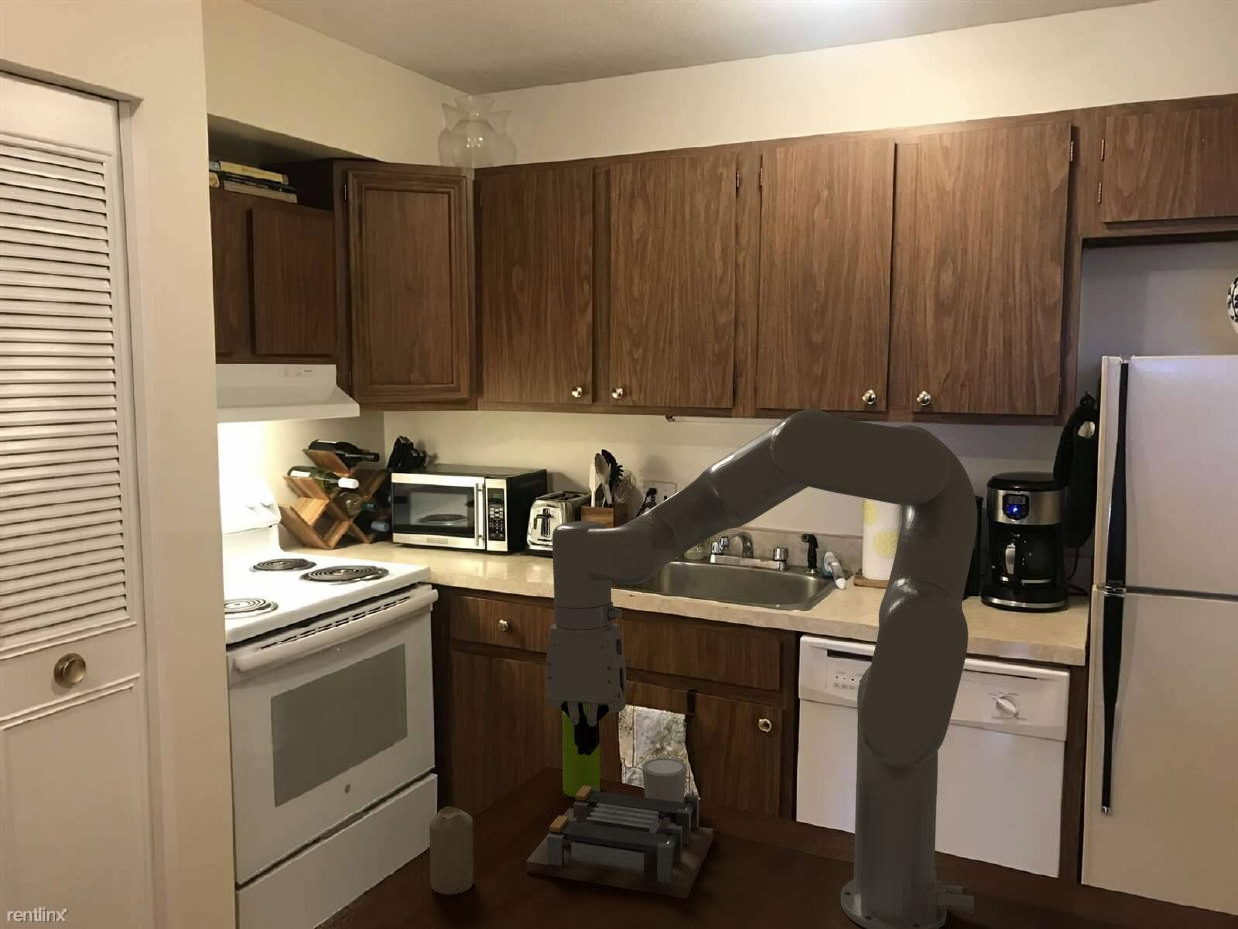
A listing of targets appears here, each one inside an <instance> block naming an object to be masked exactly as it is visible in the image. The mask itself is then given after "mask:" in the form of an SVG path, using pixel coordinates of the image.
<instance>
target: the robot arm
mask: <svg viewBox="0 0 1238 929" xmlns="http://www.w3.org/2000/svg"><path fill="white" fill-rule="evenodd" d="M971 482H972V481H971V479H970V477H969V475H968V473H967V471H966V469H965V467H964V465H963V463H961V461H960V459H959V458H958V457H957V456H956V454H954V452H953V451H952V450H951V449H950V448H949V447H948V446H947V445H946V444H945V443H943V442H942V440H940V438H938V437H937V436H935V434H933V433H932V432H930V431H928V430H927V429H925V428H923V427H920V426H916V425H900V426H897V427H896V426H891V425H890V426H889V425H885V424H884V425H883V424H877V423H872V422H865V421H859V420H854V419H849V418H843V417H840V416H834V415H831V414H830V413H828V412H826V411H823V410H822V409H816V408H808V409H807V408H806V409H802V410H799V411H796V412H795V413H793V414H791V415H789V416H788V417H786V418H785V419H783V420H782V421H780V422H779V423H777V424H775V425H774V426H772V427H771V428H769V429H768V430H766V431H764V432H763V433H761V434H760V435H758V436H756V437H755V438H753V439H752V440H750V441H748V442H747V443H745V444H744V445H742V446H740V447H739V448H737V449H736V450H734V451H732V452H731V453H729V454H727V455H726V456H725V457H723V458H720V460H718V461H717V462H715V463H713V464H711V465H710V466H709V467H707V468H706V469H705V470H704V471H703V472H701V474H700V475H698V477H697V478H696V479H695V480H694V481H691V483H689V484H688V485H686V486H685V487H683V488H682V489H680V490H679V491H677V492H676V493H673V495H671V496H669V497H668V498H667V499H665V500H663V501H662V502H660V503H657V505H655V506H654V507H652V508H650V509H649V510H647V511H645V512H644V513H641V514H640V515H638V516H637V517H635V518H634V519H633V518H632V519H631V520H630V521H628V522H626V523H625V524H621V525H619V526H616V527H607V526H606V525H605V524H604V523H602V522H599V521H591V520H589V521H588V520H576V521H567V522H563V523H560V524H558V525H557V526H555V528H554V530H553V531H552V534H551V535H552V536H551V537H552V539H551V542H552V544H551V545H552V547H551V548H552V569H553V571H552V573H553V597H554V598H553V599H554V601H553V604H554V623H553V624H552V625H551V626H550V630H549V635H548V642H547V648H546V659H545V660H546V661H545V662H546V663H545V689H546V694H547V698H546V704H547V705H548V706H549V707H552V708H556V709H558V710H562V713H563V712H564V713H565V714H566V715H567V716H568V717H569V718H570V721H571V723H572V724H573V725H574V738H575V745H576V746H578V755H583V754H586V755H588V756H590V755H591V754H592V753H593V751H594V750H595V749H596V747H598V746H599V742H600V739H601V736H600V735H599V721H600V722H601V720H602V719H603V718H604V717H605V716H606V715H608V714H614V713H620V712H622V711H623V710H624V709H625V708H626V706H627V704H626V699H625V697H624V694H625V693H626V691H627V686H628V683H627V671H626V662H625V660H626V658H625V654H624V653H625V652H624V646H623V641H622V635H621V630H620V628H619V624H618V623H614V622H613V621H615V620H621V619H622V618H623V610H622V608H617V607H614V602H613V601H612V582H615V583H619V584H623V585H624V584H626V585H639V584H643V583H646V582H647V581H649V580H650V579H652V578H653V577H654V576H655V575H656V574H658V572H660V571H661V570H662V569H663V568H664V567H665V566H666V565H667V564H669V563H671V562H672V561H674V560H675V559H677V558H679V557H680V556H682V555H684V554H685V553H687V552H688V551H689V550H690V551H691V549H694V548H695V547H696V546H698V545H700V544H702V543H703V542H705V541H707V540H708V539H710V538H712V537H714V536H716V535H717V534H720V533H722V532H724V531H727V530H732V529H736V528H741V527H742V526H744V525H747V524H748V523H750V522H753V521H754V520H755V519H757V518H759V517H760V516H762V515H764V514H765V513H767V512H768V511H770V510H772V509H773V508H775V507H777V506H778V505H780V504H782V503H783V502H785V501H787V500H788V499H790V498H792V497H793V496H795V495H797V494H799V493H800V492H802V491H804V490H806V489H808V488H812V489H817V490H820V491H821V490H822V491H826V492H830V493H834V494H841V495H845V496H852V497H857V498H861V499H867V500H873V501H878V502H882V503H887V504H894V505H898V506H900V507H901V524H900V528H899V529H900V530H899V534H898V539H897V543H896V551H895V555H894V559H893V563H892V567H891V571H890V574H889V579H888V582H887V585H886V589H885V592H884V594H883V597H882V600H881V603H880V605H879V610H878V632H877V637H876V642H875V646H874V647H875V648H874V652H873V655H872V660H871V664H870V665H869V666H868V668H867V669H866V670H865V672H864V673H863V674H862V677H861V678H860V681H859V684H858V688H857V695H856V696H857V697H856V698H857V699H856V700H857V701H856V702H857V703H856V704H857V706H856V708H857V710H856V711H857V724H856V725H857V726H856V728H857V732H856V733H857V738H856V740H857V742H856V743H857V744H856V745H857V746H856V780H855V781H856V782H855V810H854V811H855V818H854V824H855V826H854V858H853V859H854V861H853V864H854V865H853V879H851V880H850V881H849V882H847V883H846V884H845V885H844V886H843V887H842V889H841V892H840V904H841V908H842V910H843V911H844V914H846V915H847V917H848V918H850V919H851V920H852V921H853V922H854V923H856V925H857V924H858V925H859V926H860V927H862V928H864V929H939V928H940V927H942V926H943V927H944V925H945V924H946V922H945V921H947V910H950V911H957V912H960V913H967V914H972V915H973V914H974V912H975V910H974V909H975V899H974V898H975V897H974V896H972V895H965V894H963V887H962V886H959V885H947V884H943V882H942V881H938V879H937V878H938V875H937V869H935V863H936V861H935V860H936V859H935V858H936V835H937V834H936V830H937V800H938V798H937V797H938V796H937V795H938V778H939V777H938V774H939V772H938V770H939V769H938V767H939V766H938V765H939V750H940V748H941V746H942V745H943V743H944V740H945V738H946V735H947V731H948V729H949V725H950V722H951V719H952V713H953V710H954V708H955V706H954V705H955V702H956V700H957V699H956V698H957V695H958V690H959V686H960V683H961V678H962V674H963V671H964V666H965V663H966V658H967V652H968V646H969V627H968V624H967V623H968V622H967V619H966V616H965V613H964V612H963V599H964V594H965V588H966V583H967V581H968V576H969V571H970V566H971V560H972V555H973V551H974V546H975V540H976V534H977V528H978V508H977V507H978V506H977V499H976V494H975V491H974V489H973V488H974V487H973V484H972V483H971ZM584 703H589V710H588V718H587V717H586V713H585V707H584ZM943 927H942V928H943ZM940 929H941V928H940Z"/></svg>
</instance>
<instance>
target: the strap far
mask: <svg viewBox="0 0 1238 929" xmlns="http://www.w3.org/2000/svg"><path fill="white" fill-rule="evenodd" d="M574 799H575V800H574V803H575V802H576V801H577V802H584V803H589V807H595V808H597V804H598V803H600V804H607V805H614V806H621V807H628V808H636V809H643V810H650V811H657V812H659V816H660V817H668V818H670V819H675V820H676V812H677V810H678V809H683V810H690V811H691V813H692V811H693V809H694V807H695V805H694V803H693V802H688V803H685V802H684V803H683V802H675V801H667V800H660V799H652V798H645V796H637V795H636V796H635V795H629V794H628V795H627V794H621V793H615V792H613V793H612V792H605V791H600V792H599V791H592V787H591V786H582V788H581V789H580V790H579V791H578V793H577V794H576V795H575V798H574Z"/></svg>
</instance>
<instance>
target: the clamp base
mask: <svg viewBox="0 0 1238 929" xmlns="http://www.w3.org/2000/svg"><path fill="white" fill-rule="evenodd" d="M592 791H599V792H601V788H593V787H592ZM699 796H700V795H699V794H691V793H686V794H684V803H688V802H693V803H694V805H695V807H694V809H693V811H692V813H691V811H690V810H683V809H678V810H677V812H676V819H675V820H676V821H675V822H676V823H673V822H671V818H668V817H660V816H659V812H657V811H650V810H643V809H636V808H628V807H621V806H614V805H607V804H600V803H598V804H597V808H595V807H589V803H584V802H577V801H576V802H575V801H574V803H573V804H572V805H573V807H572V808H571V807H568V809H567V810H566V812H564V814H563V815H562V816H567V817H568V821H573V822H580V823H587V824H594V825H601V826H608V827H615V828H622V829H629V830H636V831H643V832H650V833H657V834H664V835H671V834H676V835H677V837H678V840H677V842H676V844H675V846H674V848H673V844H667V843H660V842H659V844H658V846H657V853H655V852H648V851H642V850H635V849H628V848H621V847H615V846H608V845H601V844H594V843H588V842H581V841H574V840H568V839H564V835H559V834H553V833H550V831H549V832H548V834H547V835H546V836H545V838H544V839H543V840H542V841H541V842H540V843H539V845H538V846H536V849H534V851H533V852H532V853H531V854H530V856H529V857H528V858H527V860H526V861H525V863H526V864H525V865H526V866H525V867H526V869H525V870H526V871H525V872H526V873H530V874H536V875H542V876H543V875H544V876H549V877H554V878H562V879H565V880H566V879H568V880H571V881H572V880H573V881H579V882H584V883H589V884H590V883H591V884H597V885H602V886H609V887H614V888H618V889H619V888H622V889H627V890H633V891H639V892H645V893H650V894H656V895H661V896H668V897H675V898H682V899H688V897H689V895H690V892H691V890H692V888H693V885H694V883H695V881H696V879H697V876H698V874H699V872H700V870H701V867H702V866H703V863H704V860H705V859H706V856H707V854H708V852H709V848H710V847H711V844H712V842H713V840H714V828H709V827H701V826H699V822H700V821H699V820H700V819H699V817H700V816H699V815H700V811H699V810H700V809H699V808H700V806H699V805H700V803H699V802H700V801H699V800H700V799H699V798H700V797H699Z"/></svg>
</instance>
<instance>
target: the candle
mask: <svg viewBox="0 0 1238 929" xmlns="http://www.w3.org/2000/svg"><path fill="white" fill-rule="evenodd" d="M473 820H474V819H473V817H472V816H471V815H470V814H468V813H467V812H466V811H464V810H461V809H460V808H457V807H453V806H450V805H447V806H445V807H443V808H442V809H440V810H439V811H438V812H437V813H436V814H435V815H434V816H433V817H432V819H430V820H429V823H428V824H429V864H430V865H429V868H430V869H429V871H430V872H429V873H430V874H429V876H430V888H431V887H432V888H431V890H432V889H433V890H435V891H437V892H439V893H443V894H455V893H456V895H459V894H458V893H460V894H463V893H465V892H467V891H469V890H470V889H471V888H472V886H473V885H472V884H474V833H473V832H474V829H473V828H474V825H473V823H474V821H473ZM433 890H432V891H433ZM466 890H467V891H466ZM462 892H463V893H462Z"/></svg>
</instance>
